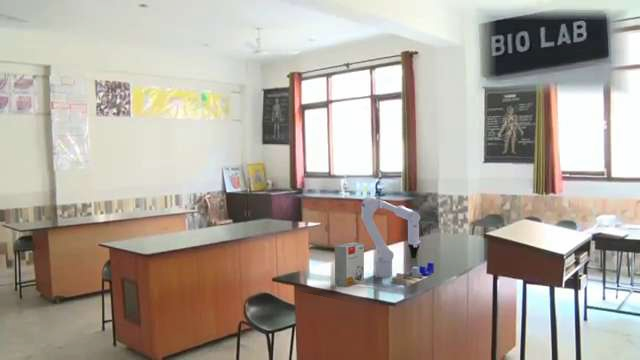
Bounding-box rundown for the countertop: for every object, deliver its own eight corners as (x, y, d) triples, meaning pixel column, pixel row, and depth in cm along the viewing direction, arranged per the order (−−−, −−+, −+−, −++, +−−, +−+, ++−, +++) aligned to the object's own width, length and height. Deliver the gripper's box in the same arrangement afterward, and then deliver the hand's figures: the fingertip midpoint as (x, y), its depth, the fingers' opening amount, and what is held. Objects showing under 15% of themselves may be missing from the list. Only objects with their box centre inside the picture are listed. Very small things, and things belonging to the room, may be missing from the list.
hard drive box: (346, 287, 248) (345, 247, 247) (334, 285, 253) (333, 246, 252) (364, 281, 260) (364, 243, 259) (353, 279, 265) (352, 241, 264)
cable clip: (427, 278, 264) (427, 267, 263) (419, 277, 266) (419, 266, 266) (436, 274, 273) (436, 263, 273) (428, 273, 276) (428, 262, 276)
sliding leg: (419, 278, 259) (419, 268, 259) (411, 277, 262) (411, 267, 262) (422, 277, 262) (422, 267, 261) (414, 275, 265) (414, 266, 264)
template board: (407, 287, 245) (407, 275, 245) (390, 284, 252) (390, 273, 251) (428, 278, 262) (428, 267, 262) (411, 276, 269) (411, 265, 268)
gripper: (423, 235, 261) (423, 260, 262) (418, 231, 276) (419, 255, 277) (409, 235, 262) (409, 261, 262) (405, 231, 276) (406, 255, 277)
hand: (413, 258), depth 270 cm, fingers closed
